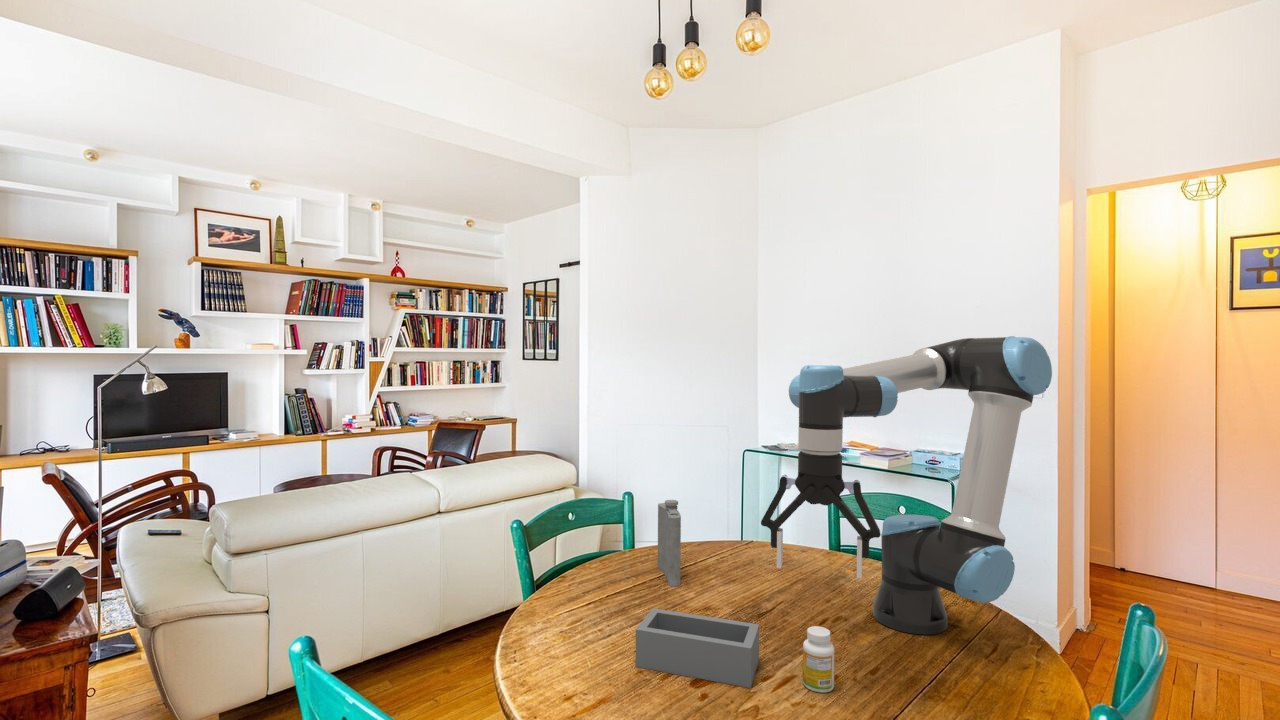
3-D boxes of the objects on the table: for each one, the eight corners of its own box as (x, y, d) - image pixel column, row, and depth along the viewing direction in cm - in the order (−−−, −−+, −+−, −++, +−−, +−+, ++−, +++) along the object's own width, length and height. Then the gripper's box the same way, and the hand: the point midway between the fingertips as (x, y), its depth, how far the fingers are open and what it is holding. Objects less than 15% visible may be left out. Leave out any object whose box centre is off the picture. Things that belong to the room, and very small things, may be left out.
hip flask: (656, 565, 168) (657, 494, 168) (670, 564, 169) (671, 493, 169) (669, 586, 153) (670, 508, 153) (685, 586, 153) (685, 507, 153)
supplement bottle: (810, 674, 111) (810, 621, 111) (838, 684, 107) (839, 630, 107) (797, 686, 107) (798, 631, 107) (827, 697, 103) (827, 640, 103)
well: (758, 660, 116) (759, 624, 116) (750, 688, 106) (751, 648, 106) (652, 642, 123) (652, 608, 123) (635, 666, 113) (635, 629, 113)
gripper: (894, 452, 106) (892, 572, 106) (752, 444, 115) (751, 555, 115) (897, 459, 99) (895, 587, 99) (746, 450, 107) (744, 568, 108)
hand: (818, 570), depth 107 cm, fingers open, 13 cm apart
